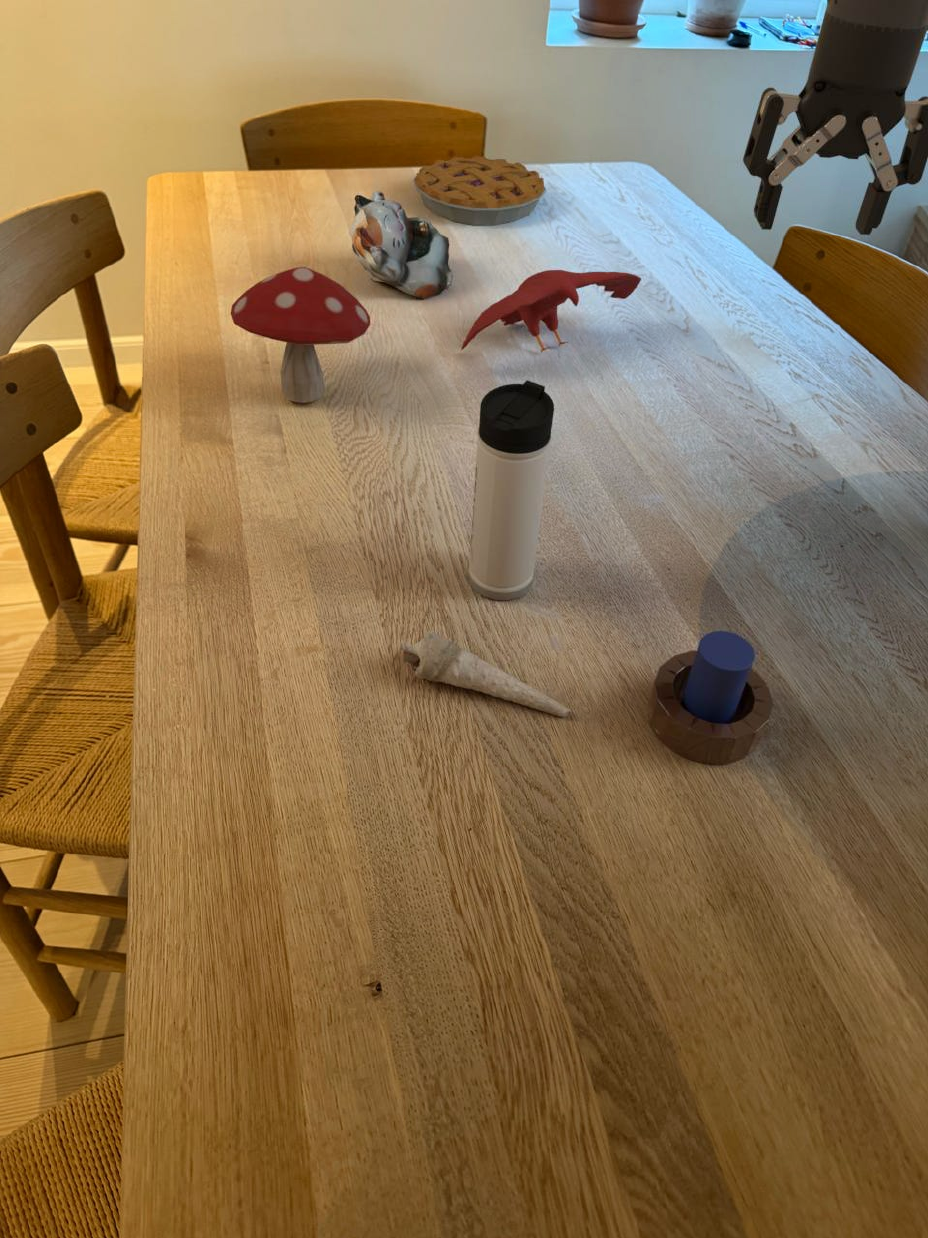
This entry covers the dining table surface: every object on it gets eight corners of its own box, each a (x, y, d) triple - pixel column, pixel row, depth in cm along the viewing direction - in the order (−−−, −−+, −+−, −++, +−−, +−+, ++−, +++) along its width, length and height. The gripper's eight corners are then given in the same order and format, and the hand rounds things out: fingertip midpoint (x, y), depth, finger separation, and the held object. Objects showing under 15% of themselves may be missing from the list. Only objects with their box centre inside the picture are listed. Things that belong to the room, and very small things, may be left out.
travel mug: (545, 572, 94) (570, 392, 80) (513, 610, 90) (533, 428, 76) (489, 549, 96) (505, 370, 82) (456, 585, 92) (466, 404, 78)
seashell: (404, 651, 86) (410, 611, 83) (572, 706, 83) (583, 666, 81) (387, 677, 82) (393, 635, 80) (561, 735, 80) (573, 694, 77)
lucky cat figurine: (452, 304, 134) (411, 225, 123) (376, 326, 139) (329, 252, 127) (457, 232, 142) (418, 152, 131) (384, 255, 146) (341, 179, 135)
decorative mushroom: (224, 373, 118) (207, 254, 108) (343, 349, 124) (338, 234, 114) (266, 439, 108) (252, 315, 98) (394, 410, 114) (393, 289, 104)
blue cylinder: (725, 697, 83) (748, 631, 77) (735, 737, 79) (760, 671, 74) (675, 695, 82) (694, 629, 77) (683, 735, 79) (704, 669, 74)
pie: (485, 171, 173) (487, 141, 170) (569, 210, 162) (573, 180, 158) (388, 195, 163) (388, 165, 159) (470, 239, 151) (472, 207, 148)
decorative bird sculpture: (445, 395, 125) (498, 351, 112) (417, 329, 125) (467, 277, 111) (605, 341, 138) (670, 295, 125) (579, 281, 137) (642, 229, 124)
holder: (748, 680, 85) (758, 652, 82) (772, 767, 78) (784, 740, 76) (641, 676, 85) (648, 648, 82) (655, 762, 78) (664, 735, 75)
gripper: (795, 17, 68) (740, 242, 79) (992, 28, 68) (909, 251, 80) (772, -7, 74) (723, 208, 85) (954, 4, 74) (881, 216, 85)
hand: (813, 228), depth 82 cm, fingers open, 8 cm apart
